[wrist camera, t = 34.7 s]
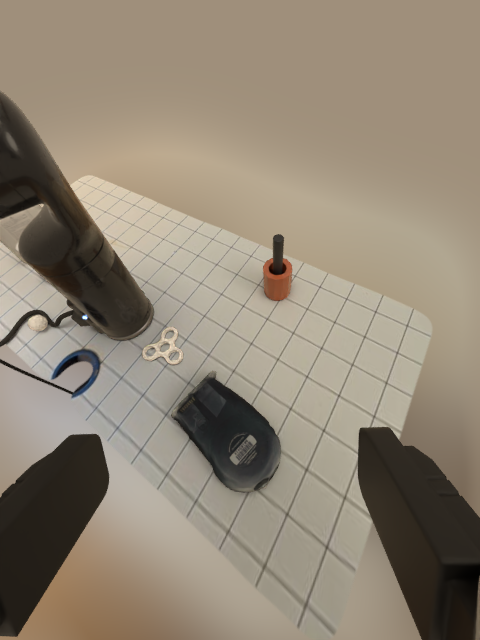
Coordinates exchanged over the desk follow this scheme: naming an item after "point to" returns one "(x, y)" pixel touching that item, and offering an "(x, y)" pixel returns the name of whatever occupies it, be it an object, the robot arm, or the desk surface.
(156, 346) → the fidget spinner
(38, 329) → the polyhedron
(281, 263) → the dark grey rod
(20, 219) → the photo printer
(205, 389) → the electronic device
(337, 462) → the desk surface
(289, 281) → the pen holder
